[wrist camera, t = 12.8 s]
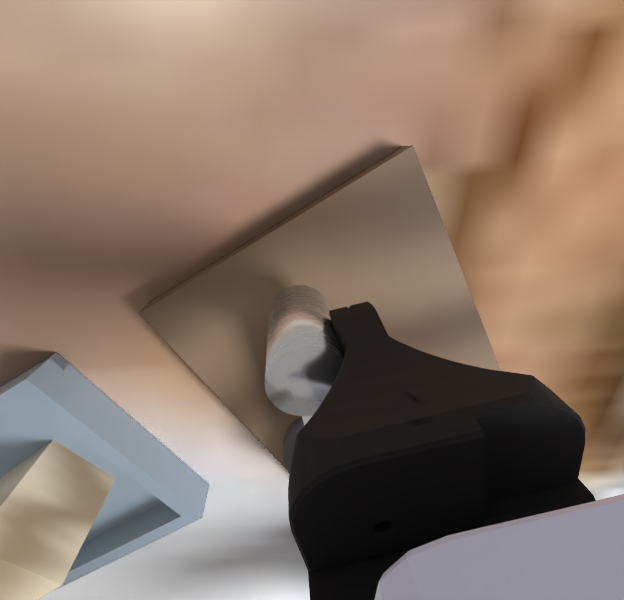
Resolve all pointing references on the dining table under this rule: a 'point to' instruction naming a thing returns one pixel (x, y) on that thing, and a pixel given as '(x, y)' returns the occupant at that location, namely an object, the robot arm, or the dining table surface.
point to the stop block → (46, 519)
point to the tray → (100, 459)
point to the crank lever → (300, 351)
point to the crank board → (326, 289)
